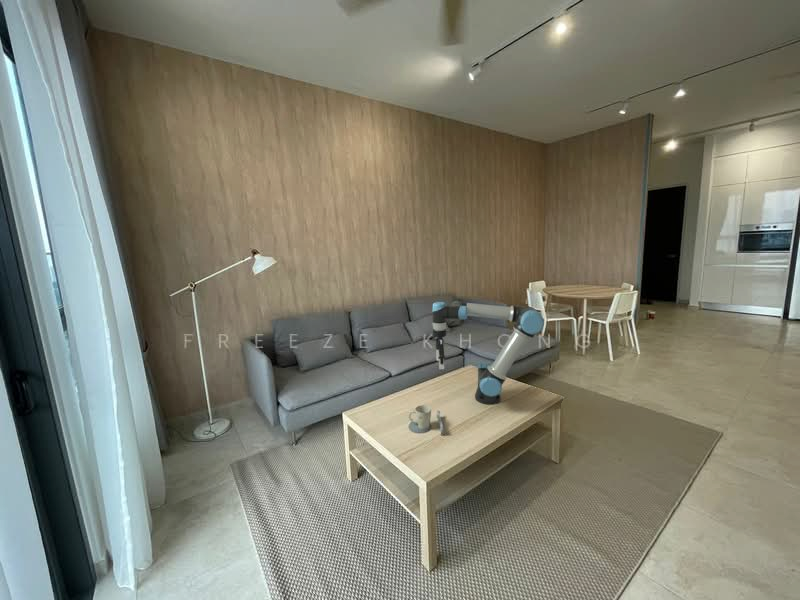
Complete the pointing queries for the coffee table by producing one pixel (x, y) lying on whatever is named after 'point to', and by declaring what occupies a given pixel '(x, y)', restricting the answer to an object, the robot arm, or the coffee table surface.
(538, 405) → the coffee table surface
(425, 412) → the mug
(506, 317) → the robot arm
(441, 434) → the fence
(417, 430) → the coaster
